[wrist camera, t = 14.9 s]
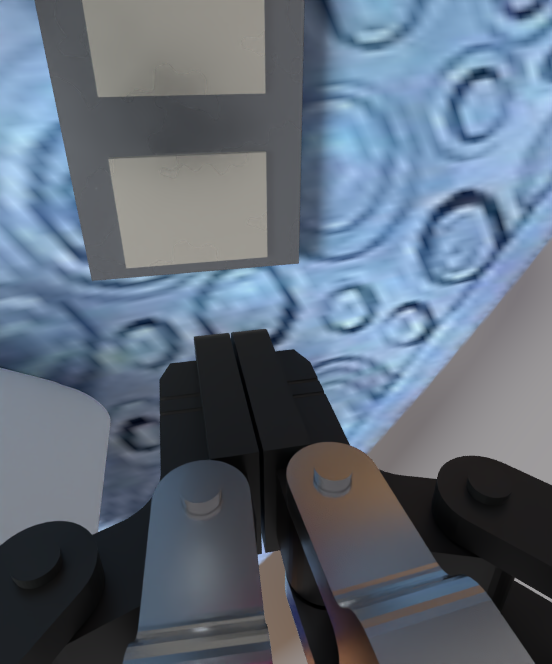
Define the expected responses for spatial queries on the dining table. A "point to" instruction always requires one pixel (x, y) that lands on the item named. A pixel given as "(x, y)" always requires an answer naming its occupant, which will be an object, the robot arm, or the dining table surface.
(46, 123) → the dining table surface
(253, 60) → the label plate
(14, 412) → the cable organizer
